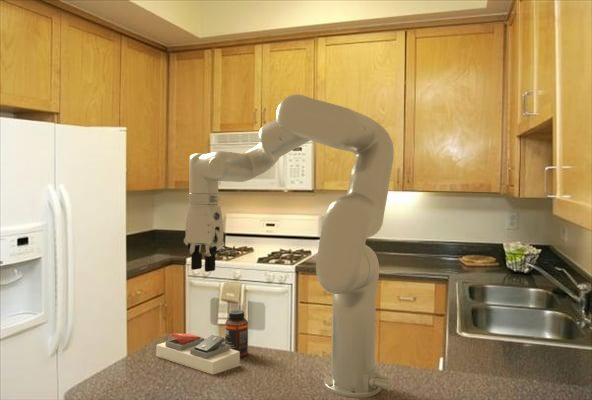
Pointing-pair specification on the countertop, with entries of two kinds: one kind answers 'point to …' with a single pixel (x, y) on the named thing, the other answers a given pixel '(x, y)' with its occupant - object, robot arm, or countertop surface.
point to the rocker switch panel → (199, 356)
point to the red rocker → (185, 337)
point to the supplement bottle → (237, 332)
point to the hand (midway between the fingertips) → (203, 269)
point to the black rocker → (210, 344)
